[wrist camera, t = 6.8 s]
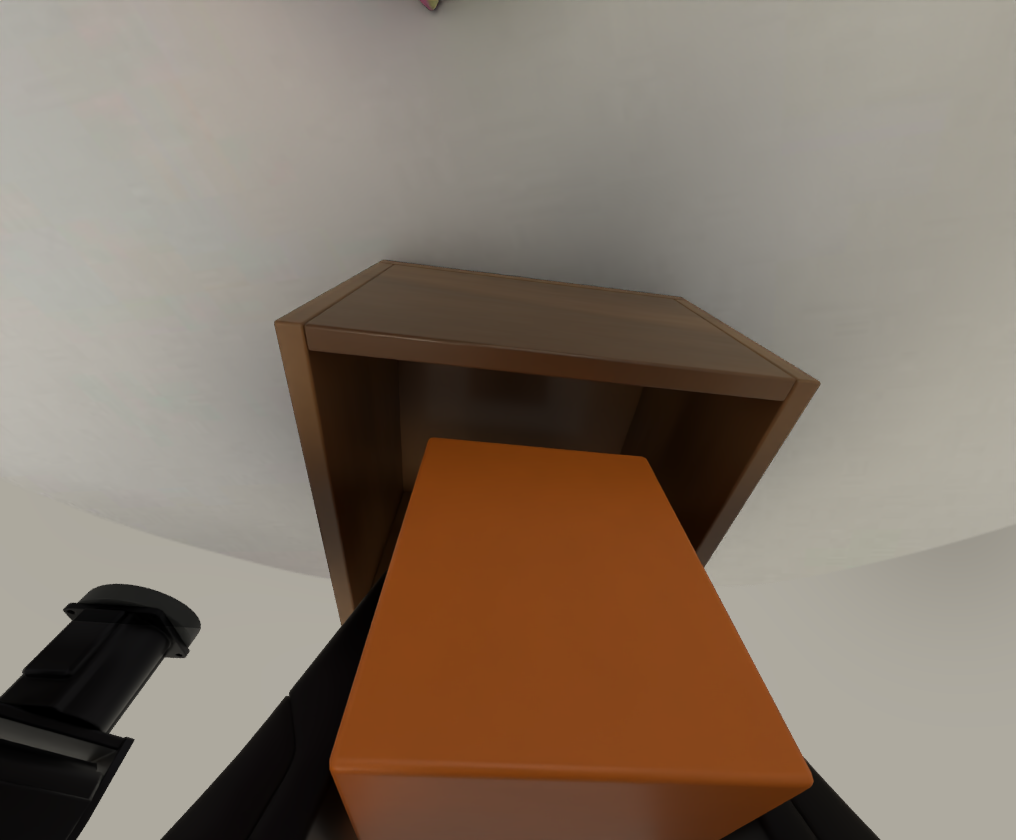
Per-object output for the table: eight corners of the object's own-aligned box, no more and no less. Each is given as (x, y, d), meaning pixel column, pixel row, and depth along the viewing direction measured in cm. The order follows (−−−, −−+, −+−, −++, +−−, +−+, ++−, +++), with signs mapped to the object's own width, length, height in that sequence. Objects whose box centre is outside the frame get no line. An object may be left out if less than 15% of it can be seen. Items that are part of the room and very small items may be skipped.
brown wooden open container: (606, 508, 18) (651, 652, 12) (395, 490, 17) (342, 634, 12) (682, 296, 12) (823, 382, 7) (381, 259, 12) (271, 320, 6)
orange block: (582, 616, 11) (631, 892, 7) (428, 607, 10) (375, 890, 6) (646, 455, 8) (822, 785, 3) (428, 434, 7) (323, 770, 3)
